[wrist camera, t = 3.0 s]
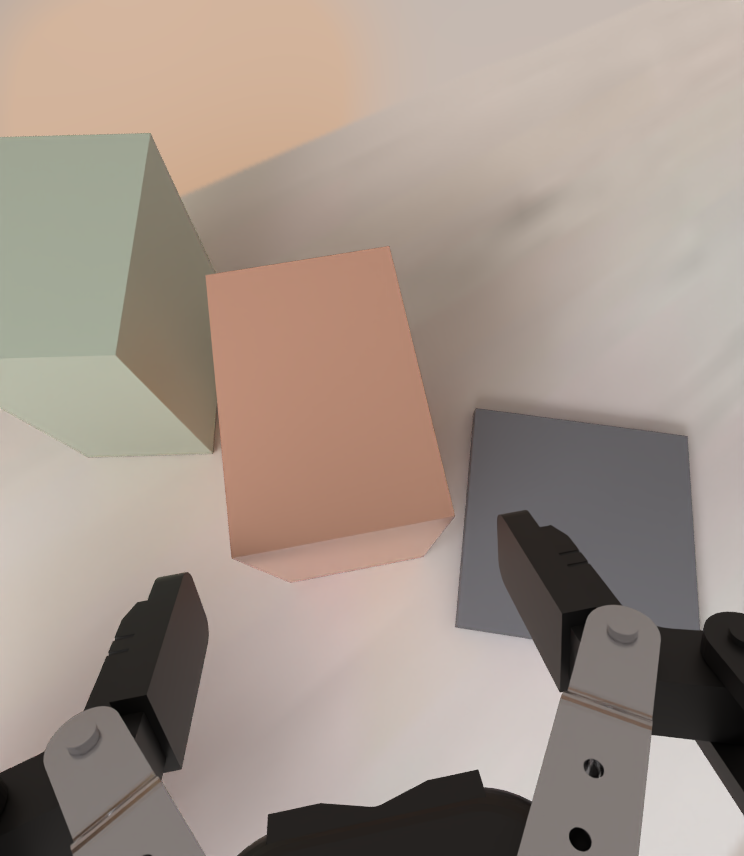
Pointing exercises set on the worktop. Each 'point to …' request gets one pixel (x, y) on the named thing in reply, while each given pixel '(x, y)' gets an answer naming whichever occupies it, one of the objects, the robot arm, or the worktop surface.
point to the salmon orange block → (323, 418)
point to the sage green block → (103, 298)
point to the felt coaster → (581, 513)
